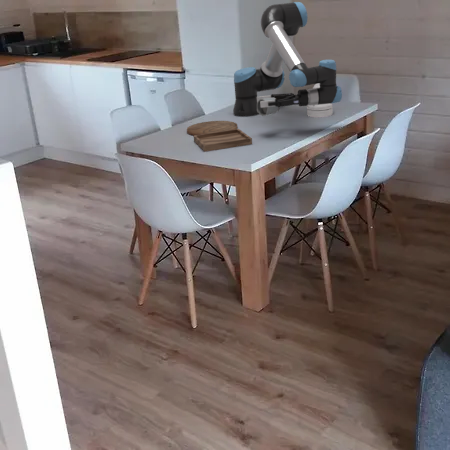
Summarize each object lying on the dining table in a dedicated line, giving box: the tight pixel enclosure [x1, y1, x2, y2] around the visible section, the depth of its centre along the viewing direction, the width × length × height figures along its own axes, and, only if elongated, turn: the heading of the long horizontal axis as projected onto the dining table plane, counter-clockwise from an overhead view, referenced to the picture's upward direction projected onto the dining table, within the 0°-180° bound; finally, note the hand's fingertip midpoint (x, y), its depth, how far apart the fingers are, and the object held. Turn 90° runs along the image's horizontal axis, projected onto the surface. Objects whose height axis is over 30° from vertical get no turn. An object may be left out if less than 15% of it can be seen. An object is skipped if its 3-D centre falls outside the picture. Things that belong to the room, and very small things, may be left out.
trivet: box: [186, 120, 238, 137], centre depth 311 cm, size 25×25×2 cm
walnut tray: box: [193, 128, 253, 153], centre depth 287 cm, size 20×22×3 cm
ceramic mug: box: [257, 98, 280, 117], centre depth 288 cm, size 11×8×8 cm
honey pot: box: [306, 83, 334, 118], centre depth 319 cm, size 13×13×18 cm
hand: (258, 102), depth 286 cm, fingers closed on ceramic mug, 9 cm apart
